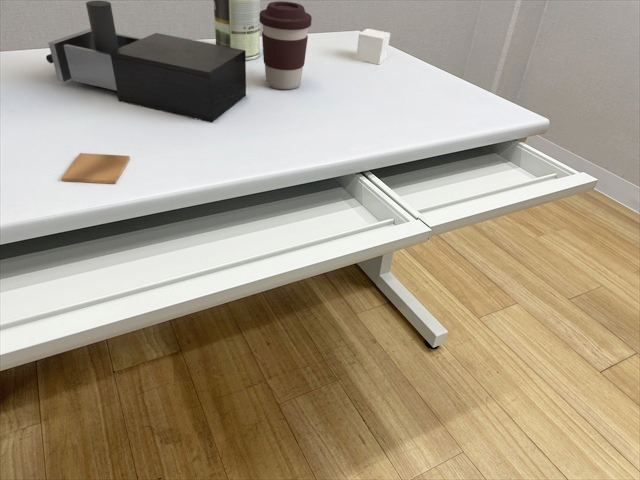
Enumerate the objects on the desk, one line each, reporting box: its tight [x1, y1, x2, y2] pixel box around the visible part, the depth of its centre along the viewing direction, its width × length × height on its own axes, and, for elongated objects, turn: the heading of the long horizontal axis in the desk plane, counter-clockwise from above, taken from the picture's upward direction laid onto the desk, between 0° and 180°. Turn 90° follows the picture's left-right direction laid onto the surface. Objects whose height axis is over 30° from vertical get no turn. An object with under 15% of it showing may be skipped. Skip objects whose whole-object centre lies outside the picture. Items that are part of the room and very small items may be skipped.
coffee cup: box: [259, 0, 313, 90], centre depth 93 cm, size 10×10×15 cm
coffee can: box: [213, 0, 261, 62], centre depth 106 cm, size 10×10×14 cm
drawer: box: [45, 28, 143, 92], centre depth 89 cm, size 22×12×7 cm, turn 72°
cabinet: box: [110, 32, 247, 123], centre depth 85 cm, size 19×14×9 cm
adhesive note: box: [355, 27, 391, 66], centre depth 114 cm, size 6×6×6 cm
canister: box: [85, 0, 118, 53], centre depth 86 cm, size 4×4×12 cm
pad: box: [60, 152, 131, 185], centre depth 66 cm, size 7×7×1 cm
